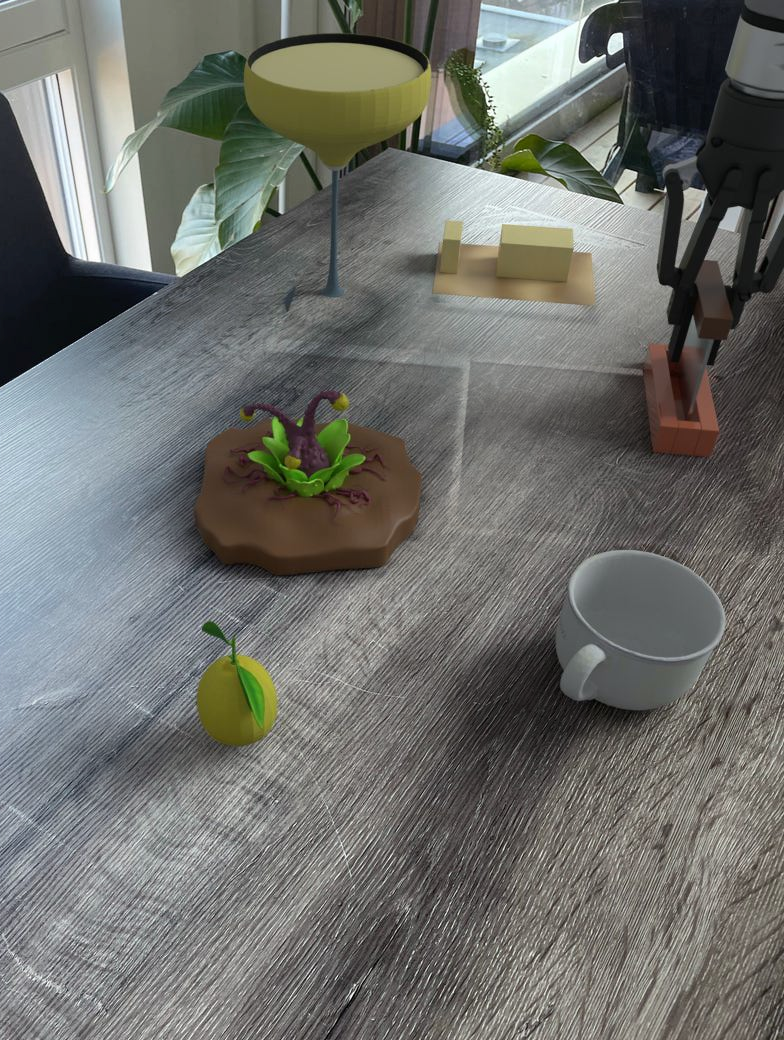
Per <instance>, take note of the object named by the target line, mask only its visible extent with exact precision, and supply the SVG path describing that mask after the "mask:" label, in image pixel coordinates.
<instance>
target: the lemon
mask: <svg viewBox="0 0 784 1040" xmlns="http://www.w3.org/2000/svg"><path fill="white" fill-rule="evenodd" d="M201 631H202V632H203V633H206V634H207V635H210V636H212V637H215V638H217V639H221V640H222V641H223V642H224V643H226V644H227V645H228V646H231V654H229V655H224V656H222V657H220V658H218V659H216V660H215V661H213V662H212V663H211V664H210V665H209V666H208V667H207V668H206V669H205V671H204V672H203V674H202V676H201V678H200V679H199V682H198V686H197V692H196V693H197V695H196V710H197V714H198V718H199V722H200V725H201V726H202V727H203V729H204V730H205V732H206V733H207V734H208V736H209V737H210V738H212V740H215V741H216V742H218V743H219V744H222V745H227V746H231V747H245V746H249V745H253V744H255V743H257V742H259V741H262V740H263V739H264V737H266V735H268V733H269V732H270V731H271V730H272V727H273V726H274V723H275V720H276V718H277V716H278V693H277V689H276V686H275V683H274V682H273V681H274V680H273V679H272V676H271V674H270V672H268V670H267V669H266V668H265V667H264V666H263V665H262V664H261V663H260V662H259V661H258V660H256V659H254V658H252V657H250V656H248V655H243V654H239V653H238V654H237V652H236V651H237V650H236V649H237V648H236V637H235V636H234V637H232V638H231V640H228V639H227V638H226V636H225V634H224V632H223V631H222V629H221V628H220V626H219V625H218V624H217V623H215V622H214V621H213V620H209V621H205V623H203V624H202V626H201Z"/></svg>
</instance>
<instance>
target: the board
mask: <svg viewBox="0 0 784 1040" xmlns="http://www.w3.org/2000/svg"><path fill="white" fill-rule="evenodd" d="M442 246H443V241H439V245H438V251H437V258H436V265H435V271H434V278H433V285H432V292H431V294H435V295H446V296H459V297H460V296H462V297H475V298H485V299H486V298H488V299H500V300H513V301H525V302H526V301H527V302H538V303H550V304H551V303H552V304H565V305H576V306H577V305H578V306H589V307H590V306H591V307H596V306H597V305H596V292H595V280H594V279H595V278H594V268H593V253H592V252H584V251H583V252H582V251H573V255H572V260H571V266H570V271H569V276H568V281H567V282H559V281H546V280H532V279H519V278H506V277H496V275H497V259H498V251H499V245H486V244H471V243H461V246H460V254H459V263H458V271H457V274H454V273H440V265H441V256H442Z"/></svg>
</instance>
